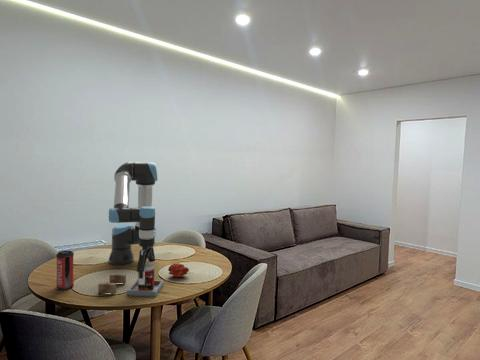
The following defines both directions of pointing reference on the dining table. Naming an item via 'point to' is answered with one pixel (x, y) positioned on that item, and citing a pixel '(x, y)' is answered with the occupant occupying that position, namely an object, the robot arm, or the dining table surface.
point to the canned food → (147, 278)
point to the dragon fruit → (178, 270)
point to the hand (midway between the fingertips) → (146, 278)
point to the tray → (136, 292)
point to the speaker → (64, 270)
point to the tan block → (111, 283)
